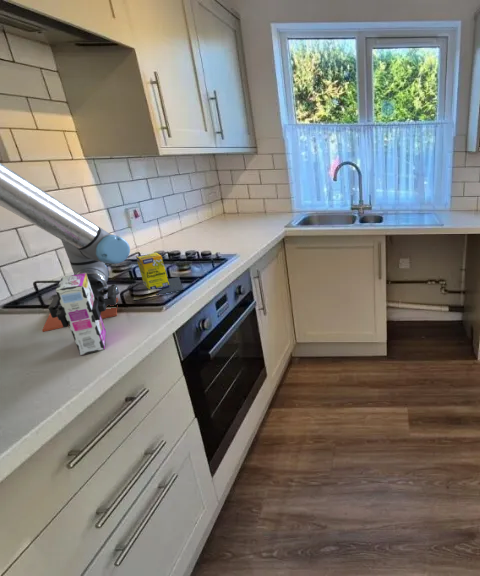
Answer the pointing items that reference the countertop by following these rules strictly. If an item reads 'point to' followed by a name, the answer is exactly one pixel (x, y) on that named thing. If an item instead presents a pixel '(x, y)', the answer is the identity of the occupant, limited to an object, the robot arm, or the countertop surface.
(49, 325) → the terracotta mat
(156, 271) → the supplement box
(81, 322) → the candy bar box
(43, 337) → the countertop surface
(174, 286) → the slate mat
